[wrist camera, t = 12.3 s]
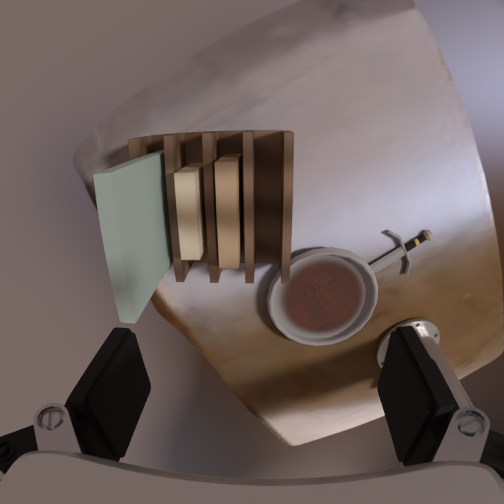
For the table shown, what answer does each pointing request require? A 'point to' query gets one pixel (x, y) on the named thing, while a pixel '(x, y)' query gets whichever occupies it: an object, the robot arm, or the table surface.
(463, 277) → the table surface
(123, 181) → the tall sheet
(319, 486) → the robot arm
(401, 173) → the table surface
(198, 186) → the offcut light
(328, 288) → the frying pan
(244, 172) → the rack
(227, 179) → the offcut dark
